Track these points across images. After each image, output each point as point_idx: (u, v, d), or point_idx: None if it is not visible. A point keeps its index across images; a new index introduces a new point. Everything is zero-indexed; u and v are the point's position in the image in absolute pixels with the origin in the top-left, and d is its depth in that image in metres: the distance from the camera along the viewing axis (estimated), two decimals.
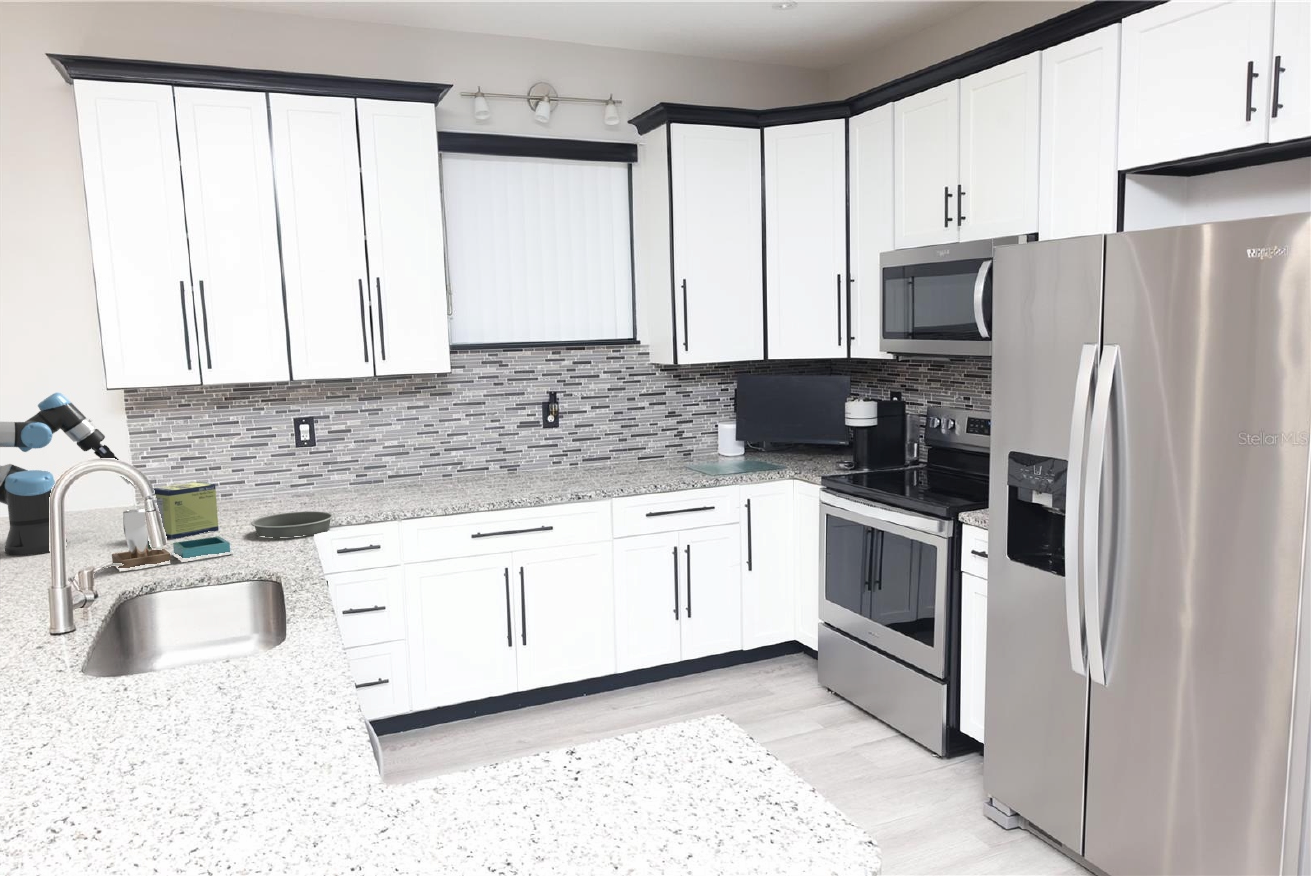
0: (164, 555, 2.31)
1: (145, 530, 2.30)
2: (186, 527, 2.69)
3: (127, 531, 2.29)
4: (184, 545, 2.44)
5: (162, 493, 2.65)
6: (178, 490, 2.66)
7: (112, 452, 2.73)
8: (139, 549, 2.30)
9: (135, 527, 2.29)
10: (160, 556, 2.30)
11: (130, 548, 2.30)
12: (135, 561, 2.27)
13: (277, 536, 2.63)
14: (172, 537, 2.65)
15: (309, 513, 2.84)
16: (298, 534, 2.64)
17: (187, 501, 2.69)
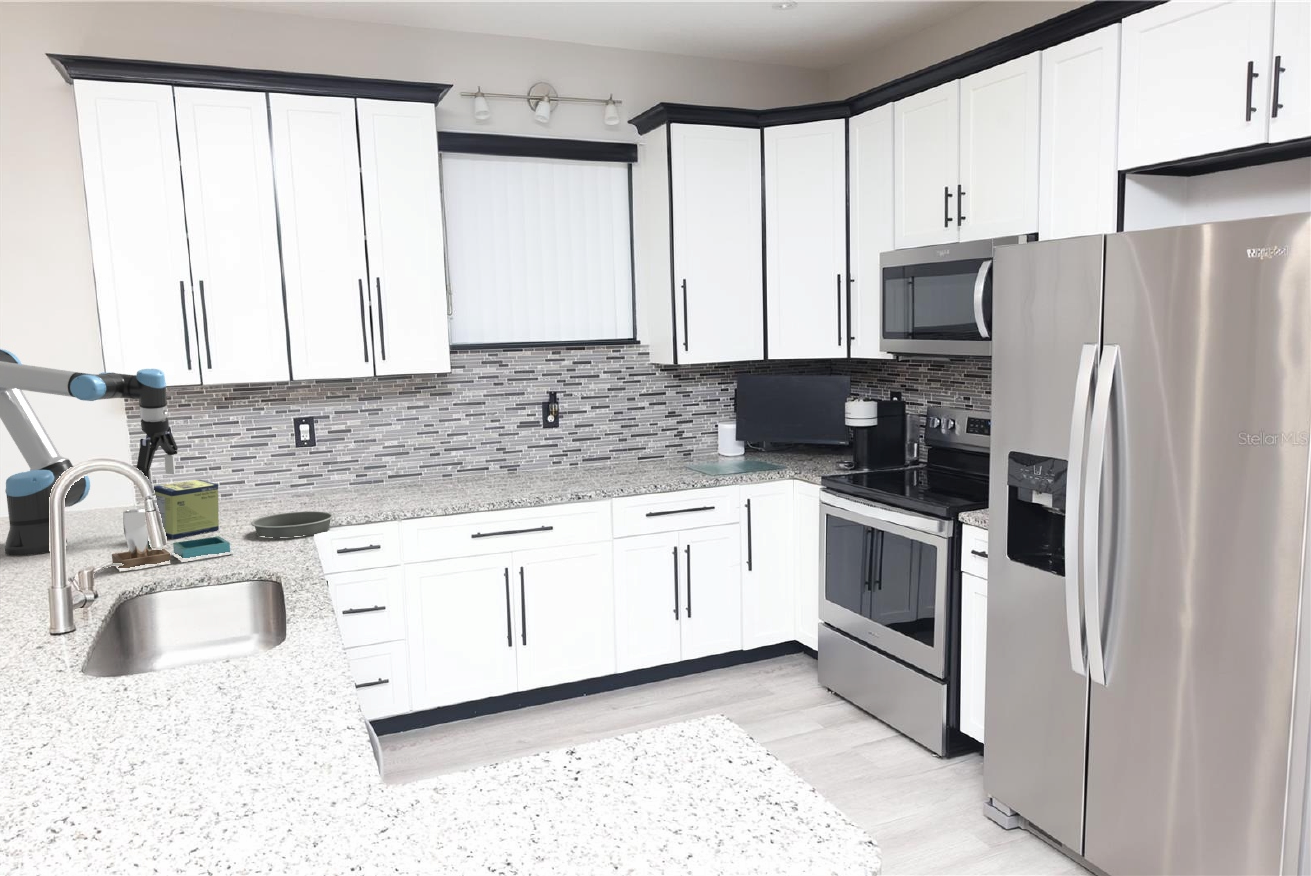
0: (164, 555, 2.31)
1: (145, 530, 2.30)
2: (187, 527, 2.68)
3: (127, 531, 2.29)
4: (184, 545, 2.44)
5: (165, 492, 2.65)
6: (181, 490, 2.65)
7: (155, 447, 2.66)
8: (139, 549, 2.30)
9: (135, 527, 2.29)
10: (160, 556, 2.30)
11: (130, 548, 2.30)
12: (135, 561, 2.27)
13: (277, 536, 2.63)
14: (173, 537, 2.65)
15: (309, 513, 2.84)
16: (298, 534, 2.64)
17: (190, 501, 2.68)
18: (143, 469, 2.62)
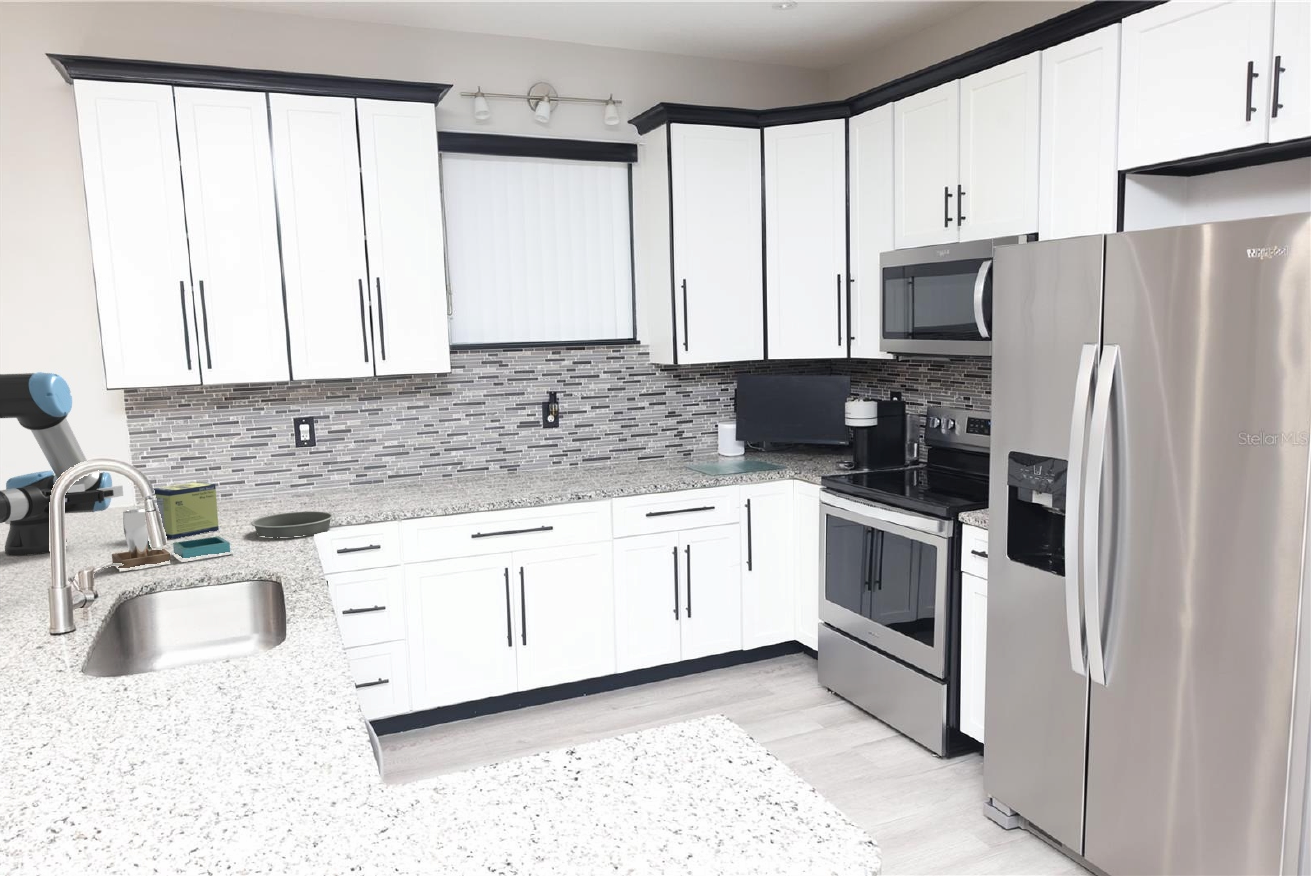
0: (164, 555, 2.31)
1: (145, 530, 2.30)
2: (186, 527, 2.68)
3: (127, 531, 2.29)
4: (184, 545, 2.44)
5: (162, 493, 2.65)
6: (179, 490, 2.66)
7: None
8: (139, 549, 2.30)
9: (135, 527, 2.29)
10: (160, 556, 2.30)
11: (130, 548, 2.30)
12: (135, 561, 2.27)
13: (277, 536, 2.63)
14: (173, 537, 2.65)
15: (309, 513, 2.84)
16: (298, 534, 2.64)
17: (188, 501, 2.69)
18: None
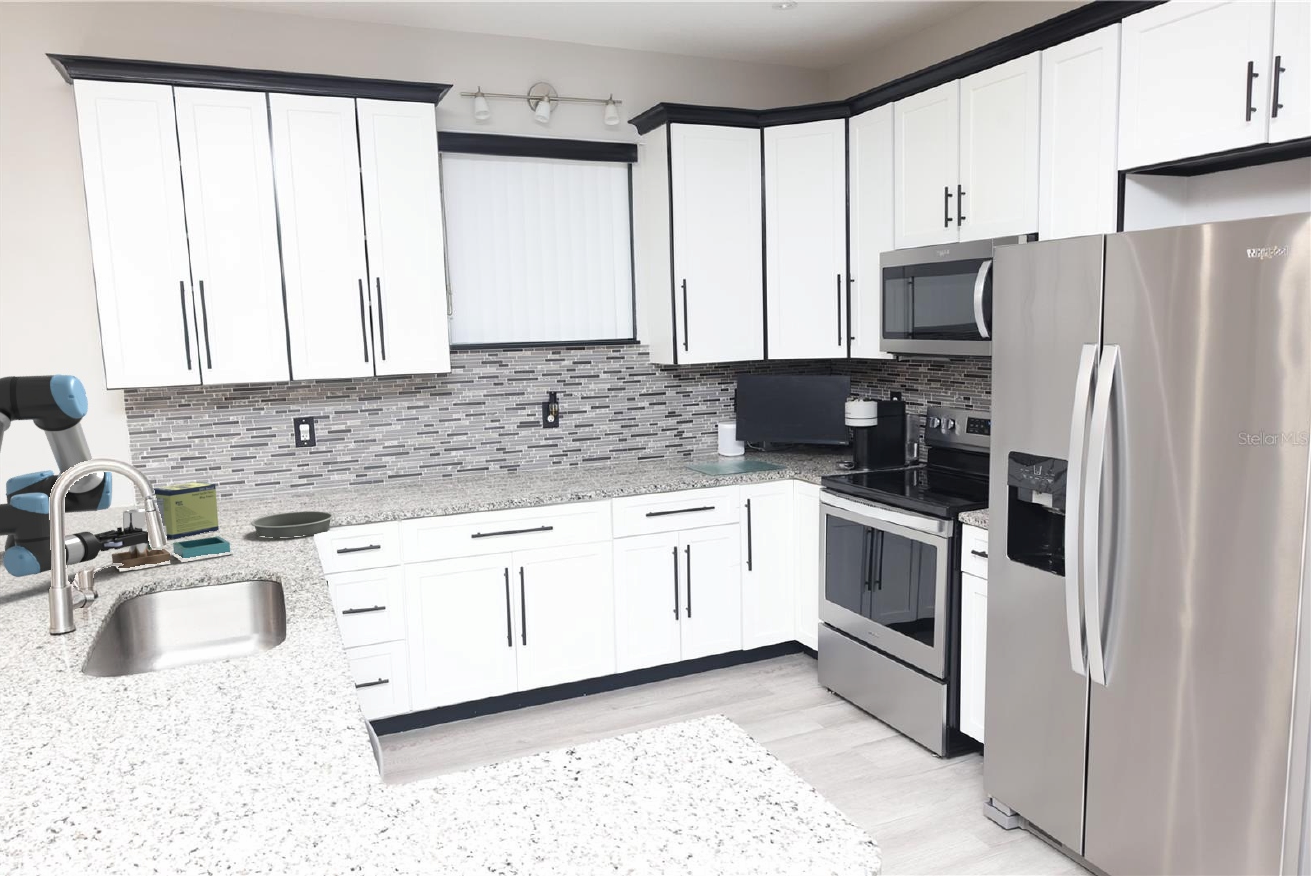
0: (164, 555, 2.31)
1: None
2: (186, 527, 2.68)
3: (127, 531, 2.29)
4: (184, 545, 2.44)
5: (162, 493, 2.65)
6: (179, 490, 2.66)
7: None
8: (139, 549, 2.30)
9: (135, 527, 2.29)
10: (160, 556, 2.30)
11: (130, 548, 2.30)
12: (135, 561, 2.27)
13: (277, 536, 2.63)
14: (173, 537, 2.65)
15: (309, 512, 2.84)
16: (298, 534, 2.64)
17: (188, 501, 2.69)
18: None
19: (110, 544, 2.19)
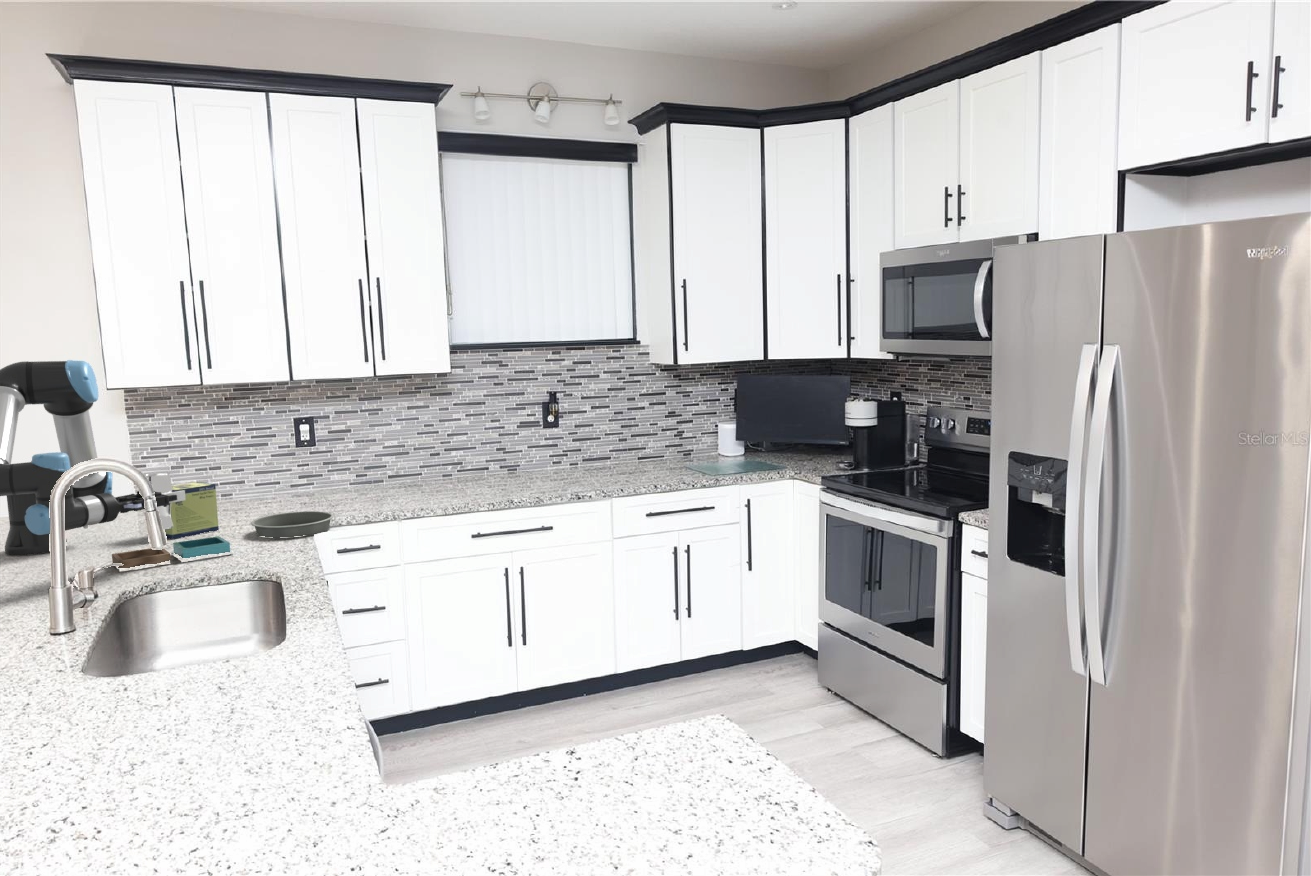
0: (164, 555, 2.31)
1: (164, 493, 2.32)
2: (186, 527, 2.68)
3: None
4: (184, 545, 2.44)
5: None
6: (179, 490, 2.66)
7: None
8: None
9: (154, 490, 2.30)
10: (160, 556, 2.30)
11: None
12: (135, 561, 2.27)
13: (277, 536, 2.63)
14: (173, 537, 2.65)
15: (309, 512, 2.84)
16: (298, 534, 2.64)
17: (188, 501, 2.69)
18: None
19: (130, 506, 2.21)
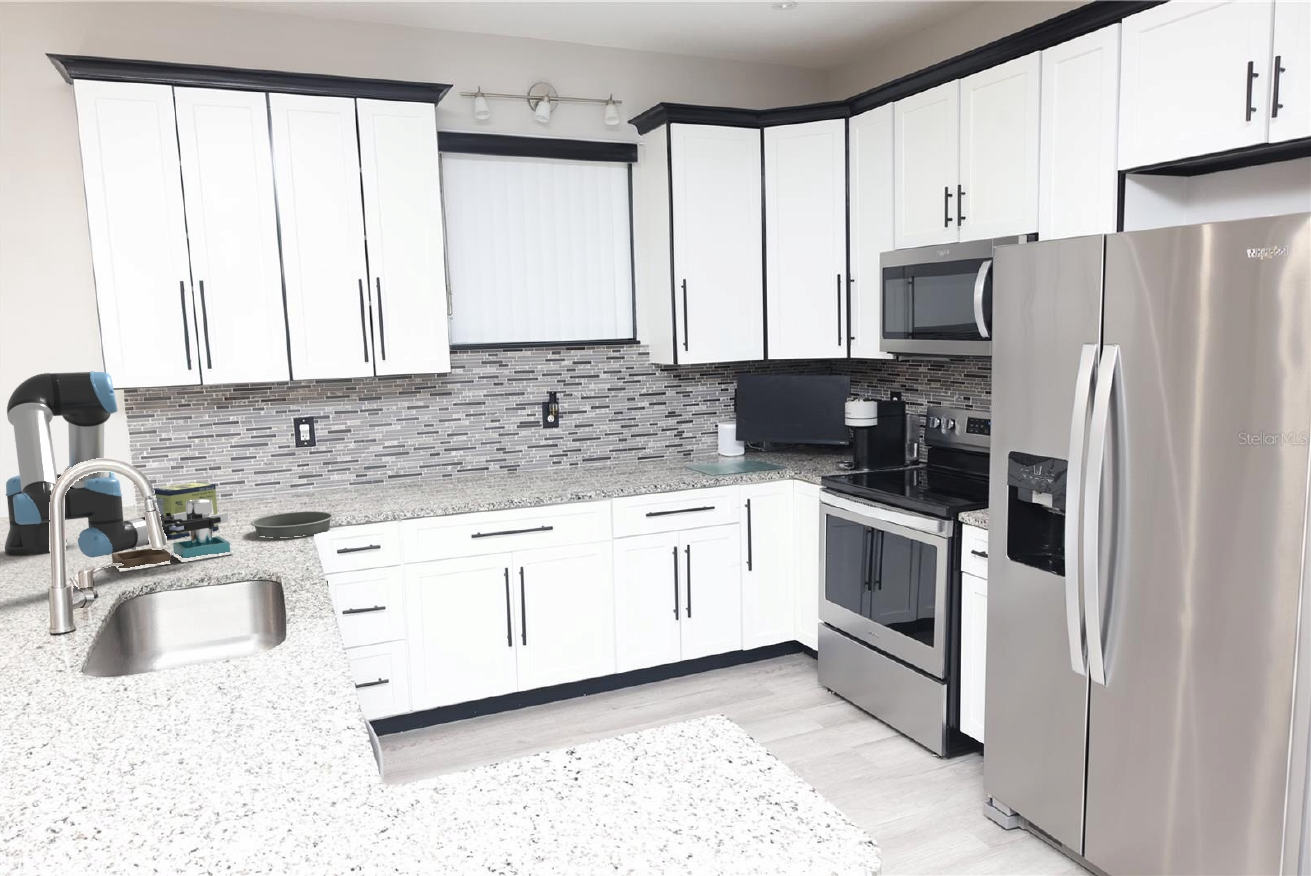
0: (164, 555, 2.31)
1: None
2: None
3: None
4: (184, 545, 2.44)
5: (162, 493, 2.65)
6: (179, 490, 2.66)
7: None
8: (201, 538, 2.40)
9: (197, 516, 2.38)
10: (160, 556, 2.30)
11: (191, 537, 2.40)
12: (135, 561, 2.27)
13: (277, 536, 2.63)
14: (173, 537, 2.65)
15: (309, 513, 2.84)
16: (298, 534, 2.64)
17: None
18: None
19: (173, 528, 2.28)
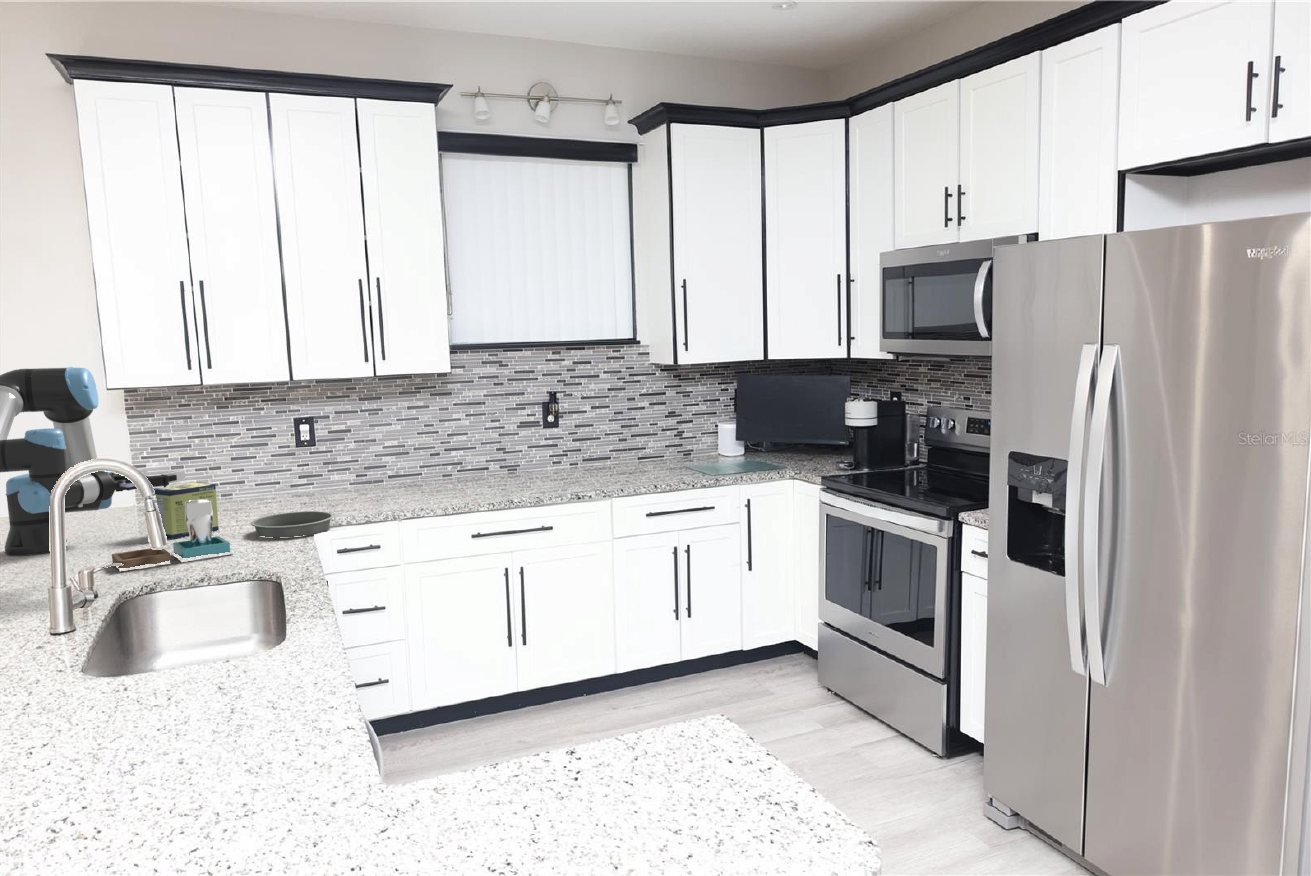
0: (164, 555, 2.31)
1: (206, 520, 2.40)
2: (186, 527, 2.68)
3: (189, 521, 2.38)
4: (184, 545, 2.44)
5: (162, 493, 2.65)
6: (179, 490, 2.66)
7: None
8: (201, 538, 2.40)
9: (196, 517, 2.38)
10: (160, 556, 2.30)
11: (191, 537, 2.40)
12: (135, 561, 2.27)
13: (277, 536, 2.63)
14: (173, 537, 2.65)
15: (308, 512, 2.84)
16: (298, 534, 2.64)
17: None
18: None
19: (123, 484, 2.14)
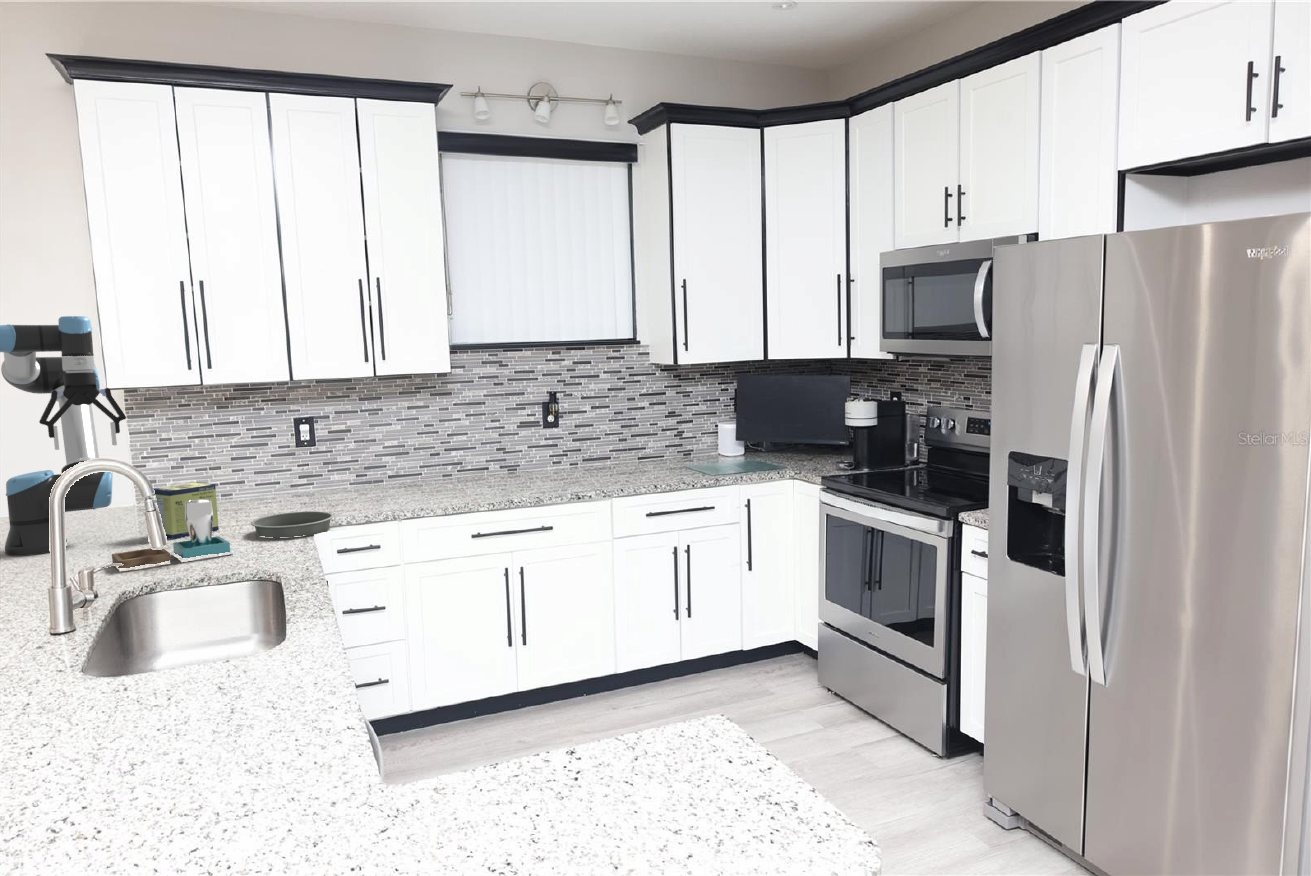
0: (164, 555, 2.31)
1: (206, 520, 2.40)
2: (186, 527, 2.68)
3: (189, 521, 2.38)
4: (184, 545, 2.44)
5: (162, 493, 2.65)
6: (179, 490, 2.66)
7: (66, 402, 2.35)
8: (201, 538, 2.40)
9: (196, 517, 2.38)
10: (160, 556, 2.30)
11: (191, 537, 2.40)
12: (135, 561, 2.27)
13: (277, 536, 2.63)
14: (173, 537, 2.65)
15: (308, 513, 2.84)
16: (298, 534, 2.64)
17: None
18: (40, 422, 2.32)
19: (101, 389, 2.41)
